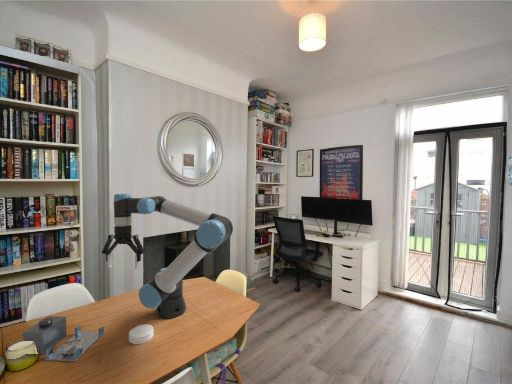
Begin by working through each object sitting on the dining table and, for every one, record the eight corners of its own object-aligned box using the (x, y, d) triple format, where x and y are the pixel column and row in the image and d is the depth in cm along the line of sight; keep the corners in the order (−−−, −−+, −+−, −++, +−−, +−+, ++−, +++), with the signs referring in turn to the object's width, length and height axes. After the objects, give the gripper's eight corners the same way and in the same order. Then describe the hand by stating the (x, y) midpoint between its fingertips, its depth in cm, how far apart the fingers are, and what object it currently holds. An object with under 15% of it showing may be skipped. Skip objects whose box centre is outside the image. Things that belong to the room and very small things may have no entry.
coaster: (137, 348, 106) (137, 339, 106) (124, 339, 111) (123, 332, 111) (158, 335, 114) (158, 328, 114) (144, 328, 120) (144, 321, 120)
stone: (61, 346, 106) (61, 340, 105) (82, 339, 110) (82, 333, 110) (61, 359, 98) (61, 352, 98) (84, 351, 103) (84, 344, 102)
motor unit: (104, 333, 115) (104, 310, 115) (75, 361, 98) (74, 334, 97) (54, 331, 116) (54, 309, 116) (16, 359, 98) (15, 333, 98)
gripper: (151, 224, 128) (151, 265, 128) (102, 223, 128) (103, 264, 129) (144, 226, 120) (145, 270, 121) (92, 226, 121) (93, 269, 122)
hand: (123, 267), depth 125 cm, fingers open, 13 cm apart
